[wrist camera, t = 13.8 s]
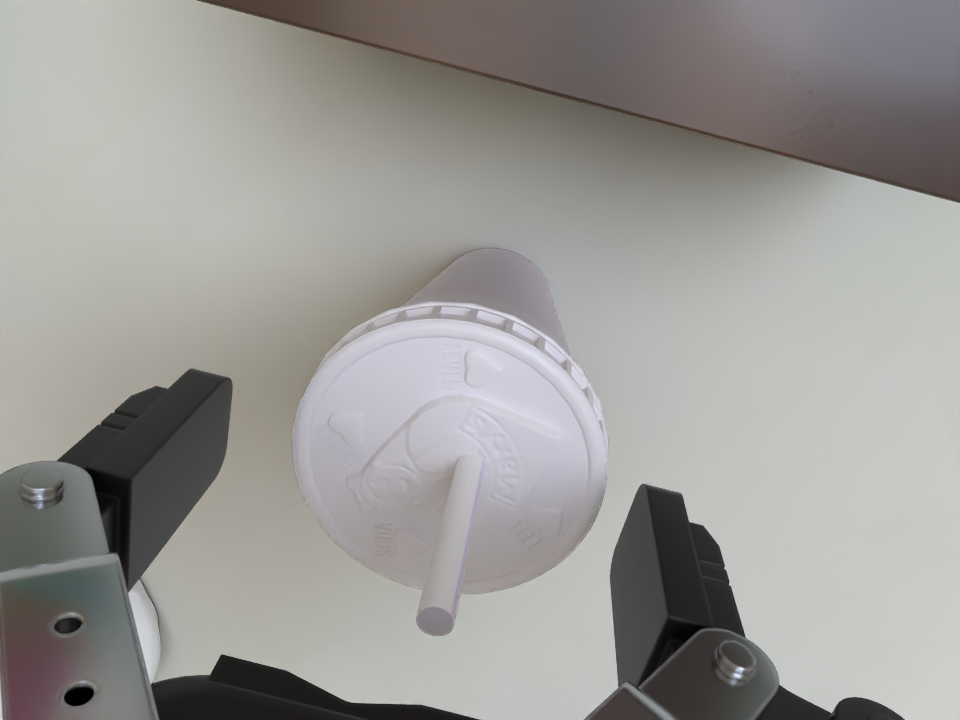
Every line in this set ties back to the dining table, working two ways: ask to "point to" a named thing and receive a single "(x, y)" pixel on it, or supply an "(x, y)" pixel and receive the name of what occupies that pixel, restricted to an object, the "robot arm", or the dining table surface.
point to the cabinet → (705, 67)
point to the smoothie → (455, 437)
